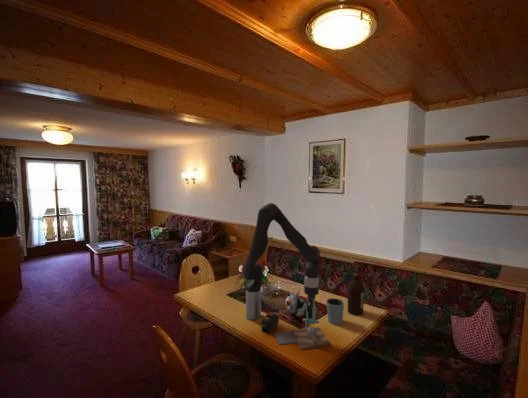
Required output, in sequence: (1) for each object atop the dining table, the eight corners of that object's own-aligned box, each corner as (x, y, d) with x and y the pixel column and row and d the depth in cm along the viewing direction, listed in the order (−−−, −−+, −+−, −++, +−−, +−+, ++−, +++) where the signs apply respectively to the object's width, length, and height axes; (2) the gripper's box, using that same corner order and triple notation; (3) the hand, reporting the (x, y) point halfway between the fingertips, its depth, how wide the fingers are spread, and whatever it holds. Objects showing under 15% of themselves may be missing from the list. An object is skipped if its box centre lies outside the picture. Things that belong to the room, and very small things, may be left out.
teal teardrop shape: (302, 322, 149) (302, 303, 148) (303, 318, 153) (303, 299, 153) (318, 325, 146) (318, 305, 145) (319, 320, 151) (319, 301, 150)
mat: (274, 334, 154) (274, 333, 154) (291, 332, 156) (291, 331, 156) (278, 344, 145) (278, 343, 145) (297, 342, 147) (297, 341, 147)
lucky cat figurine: (307, 319, 170) (297, 301, 167) (290, 323, 175) (279, 305, 172) (310, 302, 184) (301, 285, 181) (294, 306, 188) (284, 290, 186)
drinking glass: (340, 327, 162) (341, 306, 161) (323, 322, 167) (324, 302, 166) (345, 319, 171) (345, 300, 170) (329, 315, 176) (329, 296, 175)
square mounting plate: (291, 332, 156) (291, 318, 156) (318, 329, 160) (319, 315, 159) (301, 349, 141) (301, 334, 140) (330, 345, 144) (331, 330, 143)
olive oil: (345, 313, 178) (346, 275, 176) (348, 306, 188) (349, 270, 186) (362, 317, 173) (363, 277, 171) (365, 310, 183) (366, 272, 181)
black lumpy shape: (272, 334, 154) (272, 322, 154) (260, 332, 157) (260, 320, 156) (278, 326, 163) (279, 314, 163) (267, 323, 166) (267, 312, 166)
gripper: (306, 278, 156) (306, 308, 157) (301, 288, 143) (301, 320, 144) (320, 280, 154) (319, 310, 155) (316, 290, 140) (316, 323, 142)
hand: (310, 315), depth 150 cm, fingers closed on teal teardrop shape, 4 cm apart
